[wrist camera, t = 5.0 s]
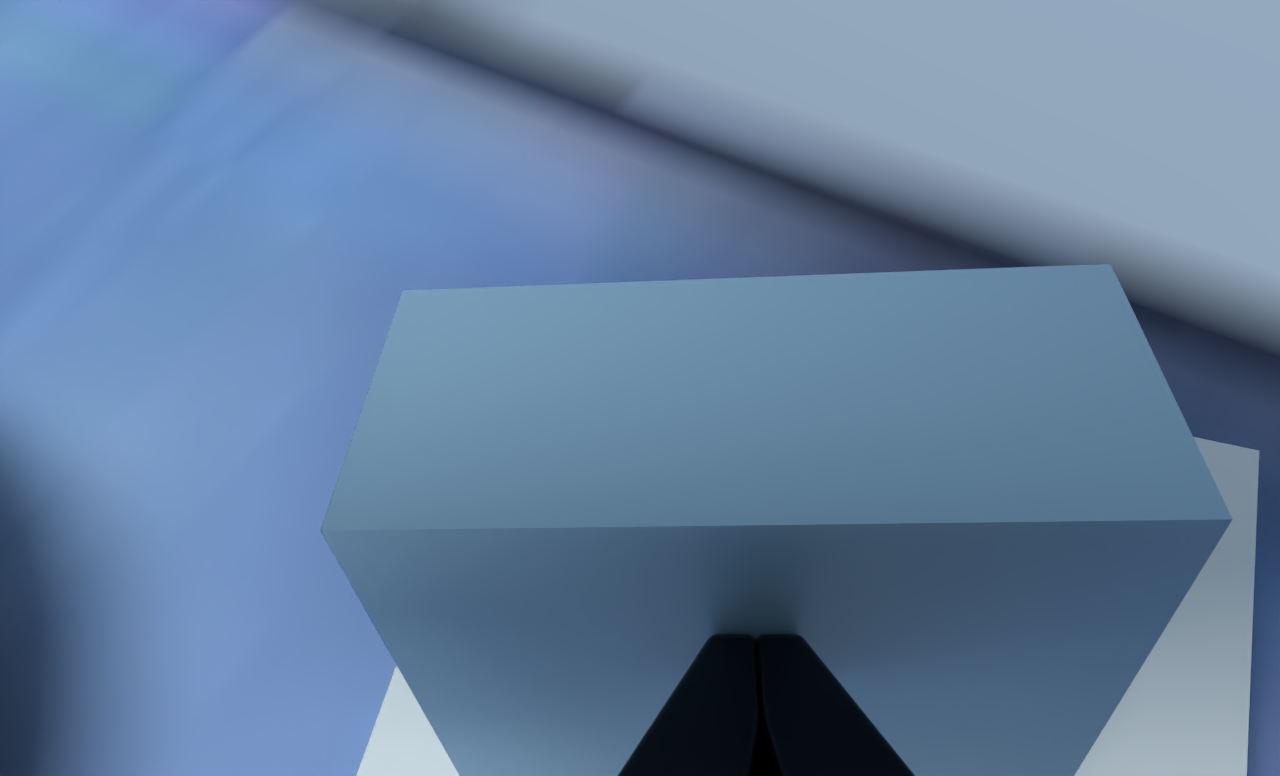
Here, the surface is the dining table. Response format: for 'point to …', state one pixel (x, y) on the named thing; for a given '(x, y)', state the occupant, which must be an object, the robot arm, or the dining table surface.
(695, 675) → the robot arm
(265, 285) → the dining table surface
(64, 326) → the dining table surface
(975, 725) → the box
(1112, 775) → the mat
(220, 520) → the dining table surface
